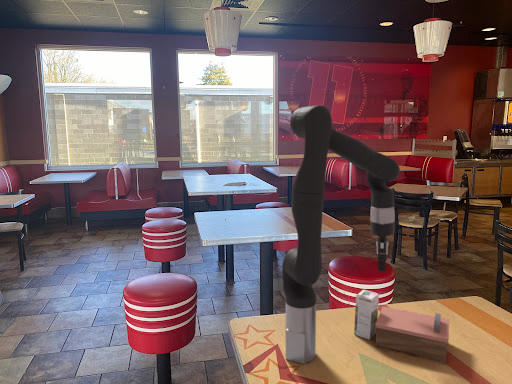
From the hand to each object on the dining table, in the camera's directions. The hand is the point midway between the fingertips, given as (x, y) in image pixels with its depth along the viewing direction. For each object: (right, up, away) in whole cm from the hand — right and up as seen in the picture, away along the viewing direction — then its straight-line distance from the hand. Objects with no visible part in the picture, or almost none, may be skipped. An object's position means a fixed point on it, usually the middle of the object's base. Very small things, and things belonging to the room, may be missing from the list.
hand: (382, 266), depth 128 cm
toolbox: (+8, -24, -5) cm, 26 cm away
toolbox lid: (+8, -18, -6) cm, 20 cm away
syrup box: (-5, -24, +1) cm, 24 cm away
